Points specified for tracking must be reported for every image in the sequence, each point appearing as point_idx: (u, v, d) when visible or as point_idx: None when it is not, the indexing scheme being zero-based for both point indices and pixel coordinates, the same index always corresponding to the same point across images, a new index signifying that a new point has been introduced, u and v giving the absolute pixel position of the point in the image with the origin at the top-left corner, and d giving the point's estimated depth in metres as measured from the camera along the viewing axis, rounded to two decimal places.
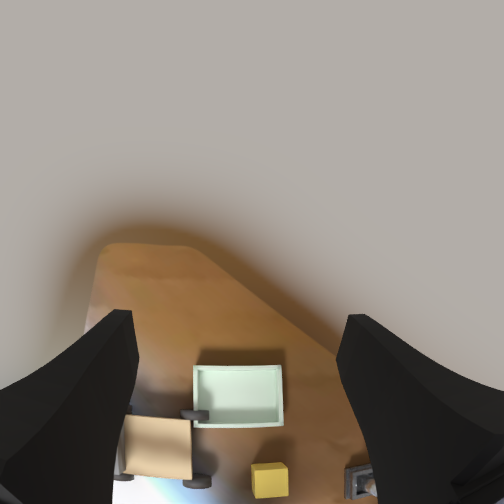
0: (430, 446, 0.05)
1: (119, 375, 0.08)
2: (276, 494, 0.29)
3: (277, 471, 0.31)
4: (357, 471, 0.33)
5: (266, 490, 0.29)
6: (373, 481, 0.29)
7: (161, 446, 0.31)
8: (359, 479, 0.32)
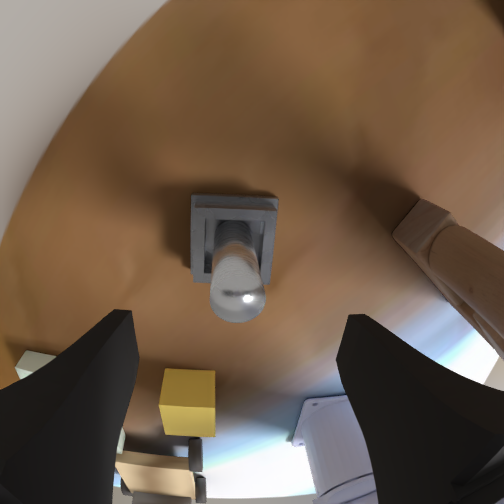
0: (430, 446, 0.05)
1: (119, 375, 0.08)
2: (210, 419, 0.21)
3: (166, 415, 0.20)
4: None
5: (200, 427, 0.21)
6: None
7: (152, 480, 0.26)
8: None
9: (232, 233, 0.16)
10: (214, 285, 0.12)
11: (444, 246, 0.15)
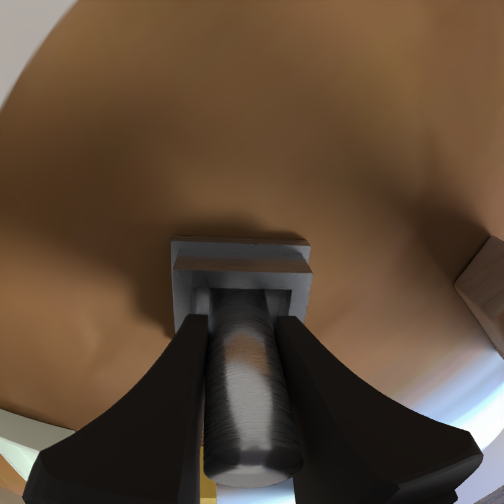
0: (327, 471, 0.05)
1: (203, 381, 0.08)
2: None
3: None
4: None
5: None
6: None
7: None
8: None
9: (238, 315, 0.09)
10: (210, 454, 0.05)
11: None
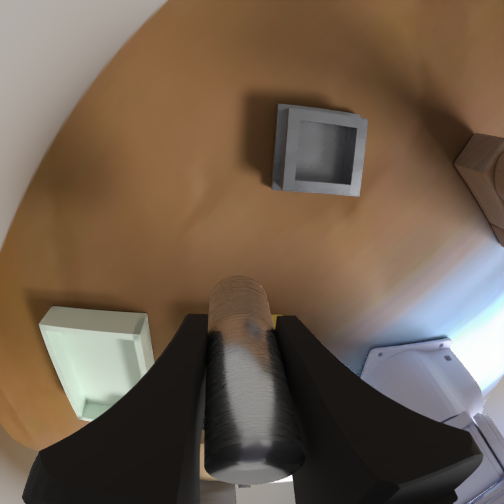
0: (327, 471, 0.05)
1: (203, 381, 0.08)
2: None
3: None
4: (283, 173, 0.16)
5: None
6: None
7: None
8: None
9: (240, 311, 0.09)
10: (212, 450, 0.05)
11: None
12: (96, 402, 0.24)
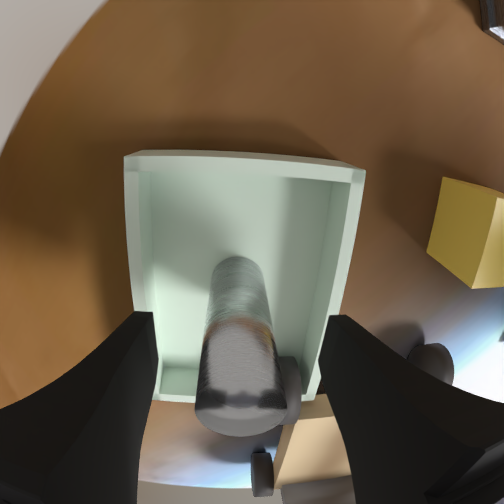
0: (404, 454, 0.05)
1: (142, 377, 0.08)
2: None
3: (495, 229, 0.10)
4: None
5: None
6: None
7: None
8: None
9: (240, 283, 0.11)
10: (205, 388, 0.07)
11: None
12: (184, 365, 0.15)
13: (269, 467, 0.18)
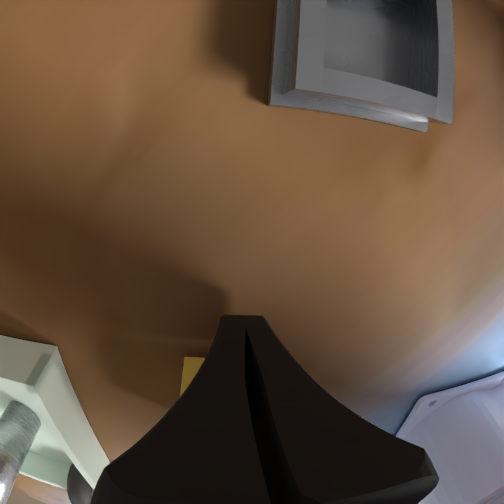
0: (271, 478, 0.05)
1: None
2: None
3: None
4: (295, 55, 0.06)
5: None
6: None
7: None
8: None
9: None
10: None
11: None
12: None
13: None
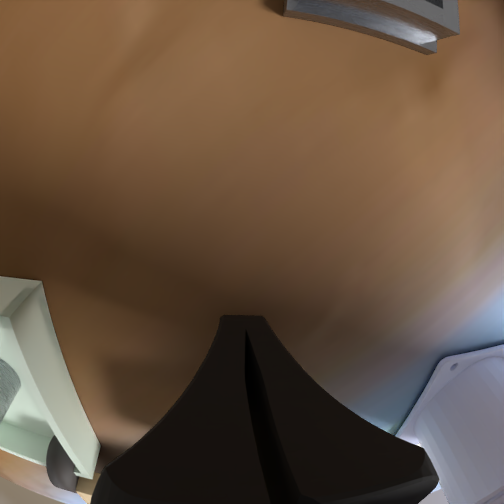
0: (272, 478, 0.05)
1: None
2: None
3: None
4: None
5: None
6: None
7: None
8: None
9: None
10: None
11: None
12: (8, 422, 0.12)
13: None
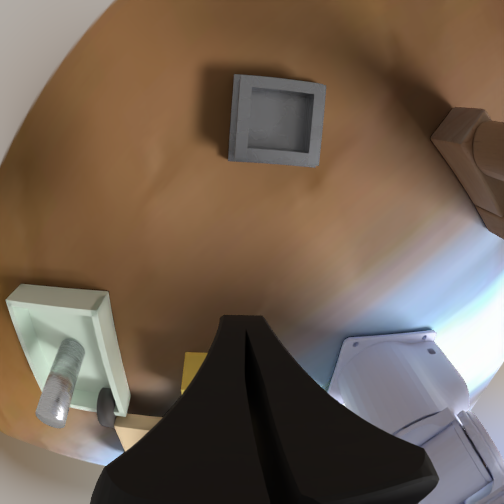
0: (272, 478, 0.05)
1: None
2: None
3: None
4: (236, 142, 0.15)
5: None
6: None
7: None
8: None
9: (56, 360, 0.19)
10: (36, 413, 0.15)
11: (487, 133, 0.13)
12: None
13: None
